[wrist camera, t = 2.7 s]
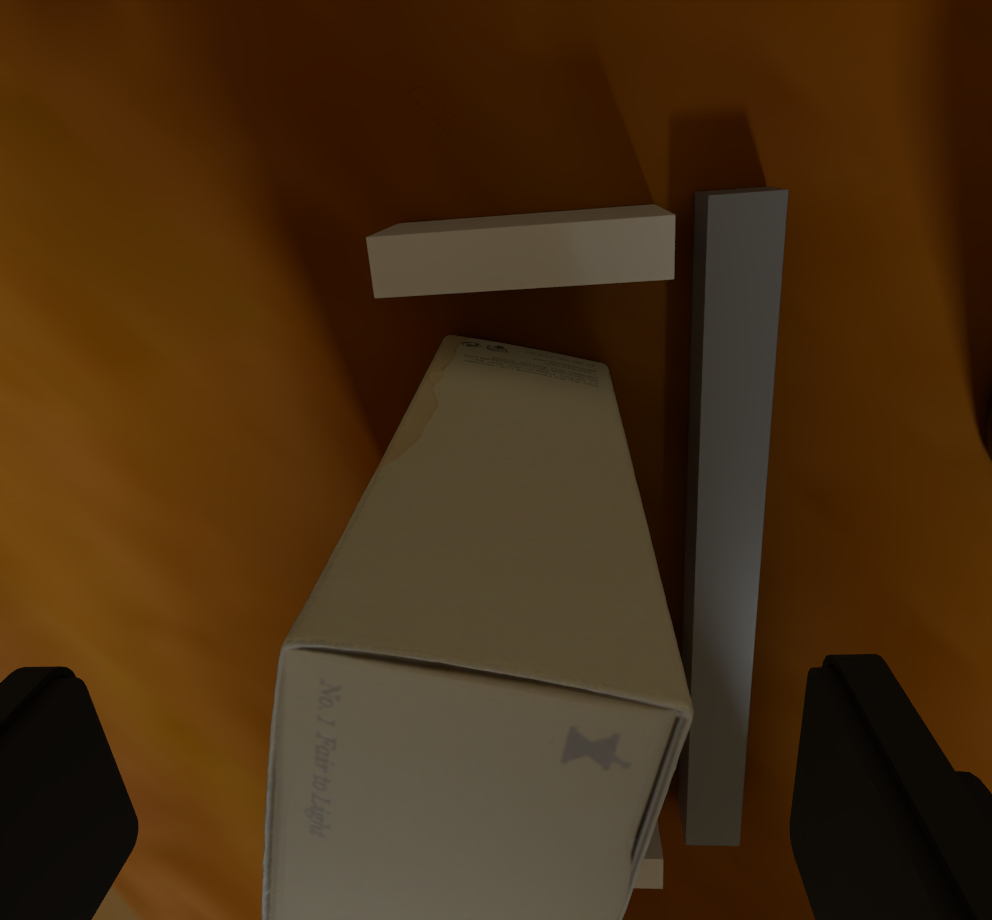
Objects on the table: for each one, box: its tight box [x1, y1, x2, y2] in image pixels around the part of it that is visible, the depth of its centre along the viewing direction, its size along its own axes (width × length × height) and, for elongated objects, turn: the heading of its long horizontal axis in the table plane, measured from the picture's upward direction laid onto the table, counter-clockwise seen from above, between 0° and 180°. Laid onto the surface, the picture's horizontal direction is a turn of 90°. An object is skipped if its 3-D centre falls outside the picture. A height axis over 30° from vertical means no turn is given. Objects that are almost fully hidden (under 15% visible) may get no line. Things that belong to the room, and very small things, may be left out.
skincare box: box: [262, 335, 694, 920], centre depth 14 cm, size 6×4×12 cm
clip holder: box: [366, 186, 788, 889], centre depth 19 cm, size 8×19×3 cm, turn 4°
